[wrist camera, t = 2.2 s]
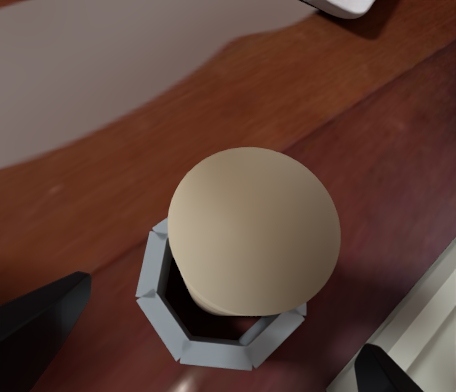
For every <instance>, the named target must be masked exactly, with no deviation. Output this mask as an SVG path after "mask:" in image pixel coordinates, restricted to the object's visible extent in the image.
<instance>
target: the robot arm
mask: <svg viewBox="0 0 456 392" xmlns="http://www.w3.org/2000/svg"><path fill="white" fill-rule="evenodd" d="M90 294H91V275H90V274H89V273H85V272H80V271H77V272H74V273H72V274H70V275H68V276H65V277H63V278H61V279H59V280H56V281H54V282H52V283H50V284H47V285H45V286H43V287H41V288H38V289H36V290H34V291H32V292H29V293H27V294H25V295H23V296H20V297H18V298H16V299H14V300H11V301H9V302H7V303H5V304H2V305H0V392H30V390H31V389H32V387H33V386H34V385H35V383H36V382H37V380H38V379H39V378H40V376H41V375H42V374H43V372H44V371H45V369H46V368H47V367H48V365H49V364H50V362H51V361H52V360H53V358H54V357H55V355H56V354H57V353H58V351H59V350H60V348H61V347H62V345H63V343H64V342H65V340H66V339H67V337H68V335H69V333H70V332H71V330H72V328H73V326H74V325H75V323H76V321H77V320H78V318H79V316H80V314H81V313H82V311H83V309H84V308H85V306H86V304H87V302H88V300H89V298H90ZM354 369H355V376H356V382H357V388H358V392H424V391H423V390H422V389H421V388H420V387H419V386H418V385H417V384H416V383H415V382H414V381H413V380H412V379H411V378H410V377H409V376H408V375H407V374H406V372H405V371H404V370H403V369H402V368H401V367H400V366H399V365H398V364H397V363H396V362H395V361H394V360H393V359H392V358H391V357H390V356H389V355H388V354H387V353H386V352H385V351H384V350H383V349H382V348H381V347H380V346H378V345H375V344H371V343H365V344H364V345H363V347H362V348H361V350H360V352H359V354H358V355H357V357H356V359H355V362H354Z"/></svg>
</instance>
